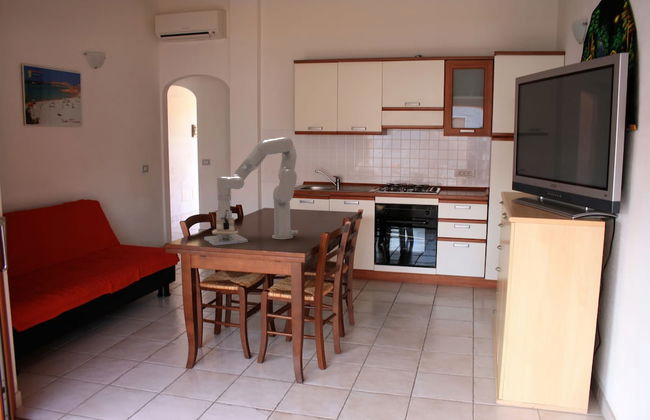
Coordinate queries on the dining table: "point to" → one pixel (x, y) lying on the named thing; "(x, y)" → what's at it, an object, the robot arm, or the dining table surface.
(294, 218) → the dining table surface
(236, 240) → the eye plate
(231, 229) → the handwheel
